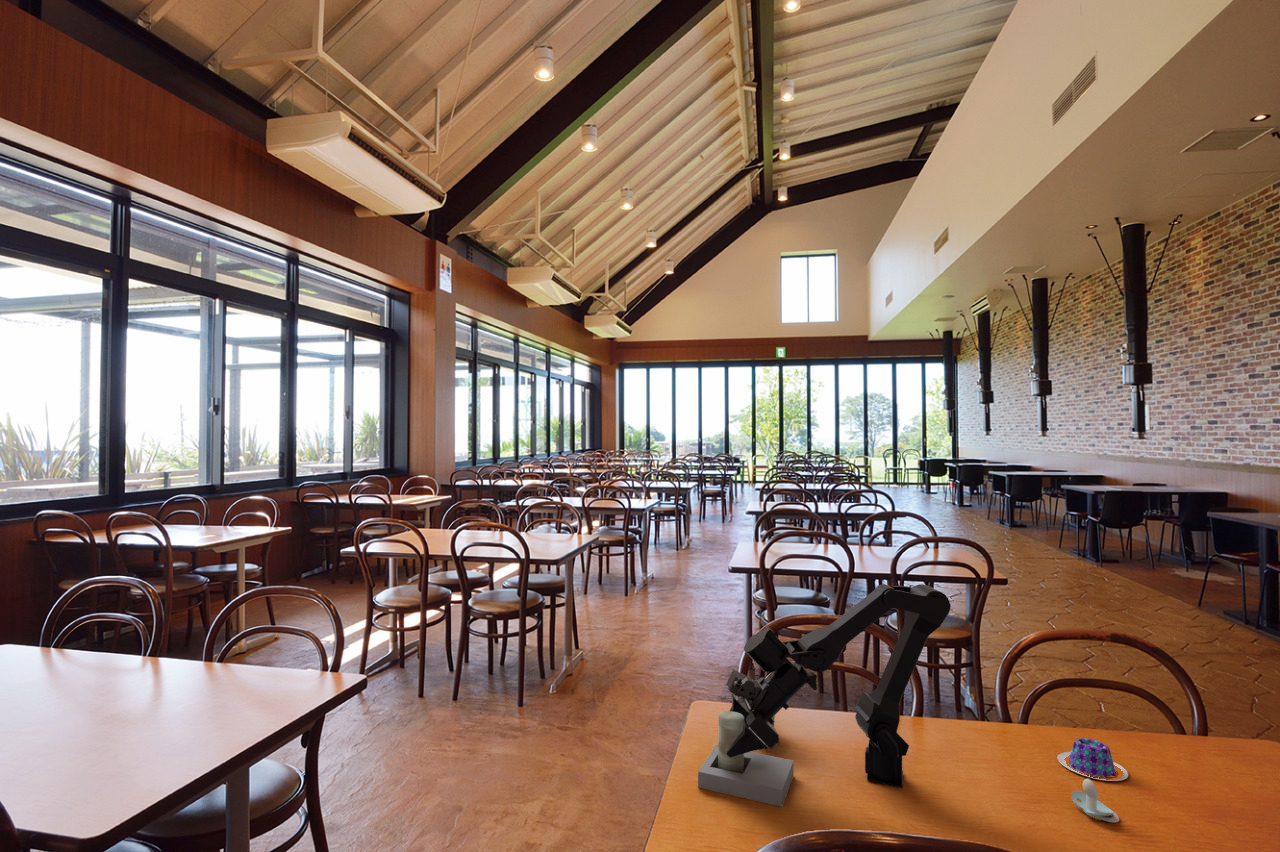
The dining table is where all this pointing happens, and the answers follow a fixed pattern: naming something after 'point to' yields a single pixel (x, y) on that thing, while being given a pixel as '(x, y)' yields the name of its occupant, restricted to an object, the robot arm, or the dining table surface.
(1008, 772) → the dining table surface
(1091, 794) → the pacifier
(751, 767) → the pocket board
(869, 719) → the robot arm
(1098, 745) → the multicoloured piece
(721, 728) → the peg
